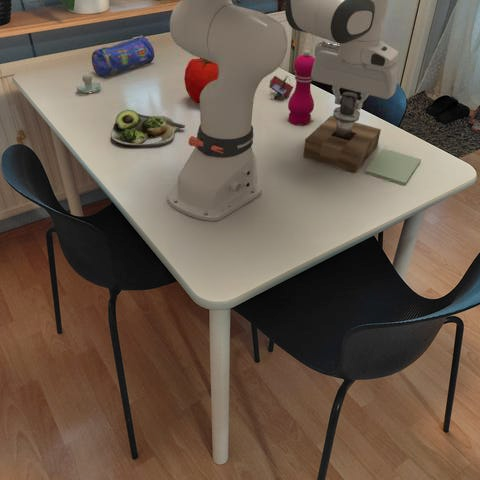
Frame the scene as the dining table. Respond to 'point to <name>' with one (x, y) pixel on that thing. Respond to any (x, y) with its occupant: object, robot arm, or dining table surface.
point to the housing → (341, 145)
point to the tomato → (199, 76)
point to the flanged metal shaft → (346, 115)
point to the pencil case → (122, 56)
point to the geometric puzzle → (281, 87)
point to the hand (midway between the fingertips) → (347, 106)
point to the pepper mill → (302, 91)
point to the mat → (393, 166)
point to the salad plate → (142, 129)
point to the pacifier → (88, 84)
